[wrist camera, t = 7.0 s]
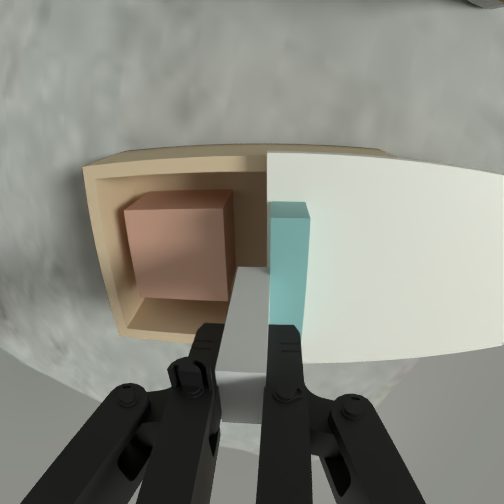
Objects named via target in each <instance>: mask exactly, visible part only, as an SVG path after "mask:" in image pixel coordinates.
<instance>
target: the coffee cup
mask: <svg viewBox="0 0 504 504" xmlns="http://www.w3.org/2000/svg"><path fill="white" fill-rule="evenodd" d="M467 1H469V2H470V3H472V4H474V5H477V6H479V7H482V8H486V9H495V8H500V7H504V0H467Z"/></svg>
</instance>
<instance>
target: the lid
mask: <svg viewBox="0 0 504 504" xmlns="http://www.w3.org/2000/svg"><path fill="white" fill-rule="evenodd" d="M267 267H270V313H269V324H277V325H295V327H296V328H297V329H298V331H299V332H300V337H301V349H302V362H303V363H341V362H364V361H380V360H394V359H406V358H416V357H425V356H435V355H443V354H451V353H458V352H465V351H472V350H478V349H484V348H490V347H496V346H501V345H503V343H504V174H503V173H498V172H493V171H488V170H482V169H477V168H471V167H465V166H458V165H452V164H445V163H438V162H430V161H423V160H414V159H406V158H396V157H386V156H375V155H362V154H348V153H330V152H306V151H267Z"/></svg>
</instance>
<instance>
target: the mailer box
mask: <svg viewBox="0 0 504 504" xmlns="http://www.w3.org/2000/svg"><path fill="white" fill-rule="evenodd" d="M267 151H306V152H330V153H348V154H362V155H375V156H386V157H395V156H393V155H391V154H388V153H386V152H384V151H381V150H379V149H372V148H360V147H346V146H329V145H306V144H218V145H195V146H178V147H163V148H151V149H140V150H130V151H124V152H121V153H118V154H115V155H113V156H110V157H107V158H104V159H102V160H99V161H96V162H93V163H91V164H88V165H86V166H83V175H84V182H85V189H86V196H87V202H88V208H89V214H90V220H91V225H92V230H93V235H94V240H95V245H96V250H97V254H98V259H99V263H100V267H101V272H102V276H103V280H104V284H105V288H106V291H107V295H108V299H109V302H110V306H111V310H112V313H113V317H114V320H115V323H116V327H117V330H118V333H119V336H123V337H132V338H140V339H150V340H160V341H170V342H182V343H193V341H194V338H195V334H196V331H197V330H198V329H199V328H200V327H201V326H202V325H203V324H204V323H220V324H225V323H226V318H227V314H228V309H229V305H230V300H231V296H232V291H233V287H234V282H235V278H236V274H237V269H238V267H267ZM396 158H398V157H396Z"/></svg>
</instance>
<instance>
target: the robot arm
mask: <svg viewBox="0 0 504 504" xmlns="http://www.w3.org/2000/svg"><path fill="white" fill-rule="evenodd" d="M269 313H270V267H238V269H237V274H236V278H235V282H234V287H233V291H232V296H231V300H230V305H229V309H228V314H227V318H226V323H225V324H220V323H204V324H203V325H202V326H201V327H200V328H199V329H198V330H197V331H196V334H195V338H194V341H193V344H192V347H191V350H190V353H189V356H188V357H183V358H180V359H177V360H176V361H174V362H173V363H171V364H170V366H169V367H168V369H167V371H168V374H169V378H170V382H171V385H172V387H170V388H168V389H165V390H160V391H152V392H146V391H145V389H144V388H143V387H141V386H140V385H138V384H133V383H127V384H122V385H120V386H117V387H116V388H115V389H114V390H112V391H111V392H110V394H109V395H108V396H107V397H106V398H105V400H104V401H103V402H102V403H101V404H100V406H99V407H98V408H97V409H96V411H95V412H94V413H93V414H92V415H91V417H90V418H89V419H88V420H87V421H86V423H85V424H84V425H83V427H82V428H81V429H80V430H79V431H78V432H77V434H76V435H75V436H74V437H73V439H72V440H71V441H70V442H69V444H68V445H67V446H66V447H65V448H64V450H63V451H62V452H61V454H60V455H59V456H58V457H57V458H56V459H55V461H54V462H53V463H52V464H51V466H50V467H49V468H48V469H47V471H46V472H45V473H44V474H43V476H42V477H41V478H40V480H39V481H38V482H37V483H36V485H35V486H34V487H33V488H32V490H31V491H30V492H29V493H28V495H27V496H26V497H25V498H24V500H23V501H22V502H21V503H20V504H128V502H129V501H130V499H131V497H132V496H133V494H134V492H135V491H136V489H137V488H138V486H139V485H140V483H141V482H142V485H141V488H140V491H139V494H138V498H137V502H136V504H209V503H210V497H211V490H212V485H213V478H214V472H215V466H216V460H217V453H218V447H219V441H220V420H221V418H222V422H233V423H251V424H262V425H261V440H260V455H259V469H258V483H257V495H256V504H313V501H312V474H311V473H312V471H311V454H312V455H316V456H319V458H320V461H321V463H322V466H323V469H324V471H325V474H326V477H327V479H328V482H329V484H330V487H331V490H332V493H333V495H334V498H335V500H336V503H337V504H426V503H425V501H424V499H423V497H422V495H421V493H420V491H419V490H418V488H417V486H416V484H415V482H414V480H413V478H412V476H411V474H410V473H409V471H408V469H407V467H406V465H405V463H404V461H403V460H402V458H401V456H400V454H399V452H398V450H397V449H396V447H395V445H394V443H393V441H392V439H391V438H390V436H389V434H388V432H387V430H386V429H385V427H384V425H383V423H382V421H381V419H380V418H379V416H378V414H377V412H376V410H375V409H374V407H373V405H372V404H371V403H370V401H369V400H368V399H366V398H365V397H363V396H361V395H357V394H344V395H342V396H340V397H338V398H337V399H336V400H335V401H333V400H329V399H325V398H321V397H318V396H316V395H314V394H313V393H311V392H310V391H309V390H308V389H307V387H306V386H305V383H304V376H303V362H302V349H301V337H300V332H299V331H298V329H297V328H296V327H295V325H277V324H269ZM142 480H143V481H142Z"/></svg>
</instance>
